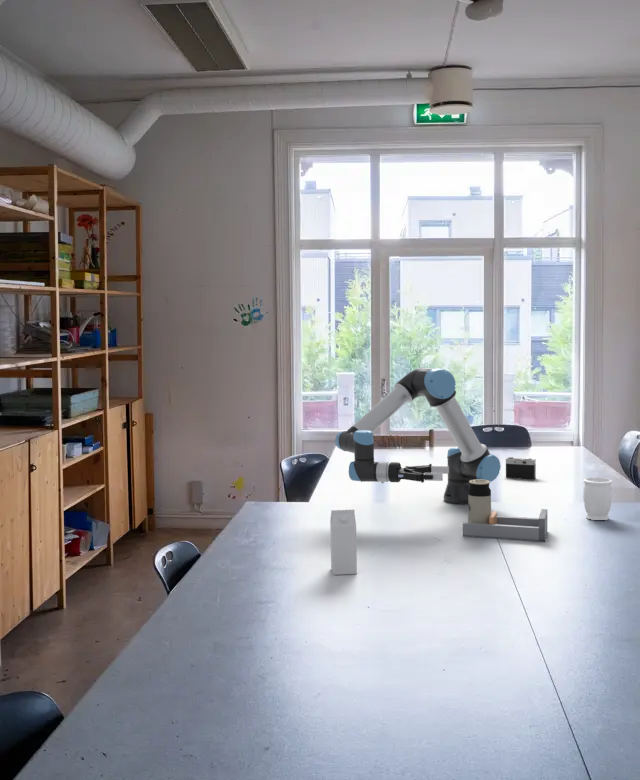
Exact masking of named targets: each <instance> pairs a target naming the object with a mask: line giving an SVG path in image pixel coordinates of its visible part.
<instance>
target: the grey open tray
mask: <svg viewBox="0 0 640 780" xmlns="http://www.w3.org/2000/svg"><path fill="white" fill-rule="evenodd" d="M467 519H468V520H467V521H468V522H465V521H464V522H463V523H462V537H464V538H465V537H467V538H482V539H496V540H508V541H509V540H510V541H511V540H512V541H513V540H514V541H528V542H540V543H541V542H542V543H545V542H546V539H547V535H548V509H547V508H546V509H545V508H541V510H540V513H539V516H538V517H524V516H523V517H522V516H508V515H507V516H506V515H504V516H503V515H497V524H483V523H469V514H468V515H467Z"/></svg>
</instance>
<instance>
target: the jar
mask: <svg viewBox="0 0 640 780" xmlns="http://www.w3.org/2000/svg"><path fill="white" fill-rule="evenodd" d="M582 482H583V484H584V486H583V491H582V494H583V495H582V498H583V505H584V509H585V512H586V513H587V514H586V516H585V518H586V519H587V520H589V519H591V520H590V521H594V520H605V521H608V520H610V518H609V517H610V516H609V513H610V510H611V508H612V507H611V506H612V501H613V492H612V491H613V490H612V486H611V485H612V484H613V480H612V479H608V478H605V477H588V478H587V477H586V478H584V479H583V481H582Z"/></svg>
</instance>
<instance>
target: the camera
mask: <svg viewBox="0 0 640 780" xmlns="http://www.w3.org/2000/svg"><path fill="white" fill-rule="evenodd" d="M536 463H537V462H536V459H535V458H530V457H529V458H519V457H518V458H517V457H513V456H511V457H509V456H508V457H507V458H505V478H506V477H510V478H509V479H517V478H521V479H520V480H532V479H534V480H536V479H537V478H536V474H537V472H536V469H537V466H536V465H537V464H536Z"/></svg>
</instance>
